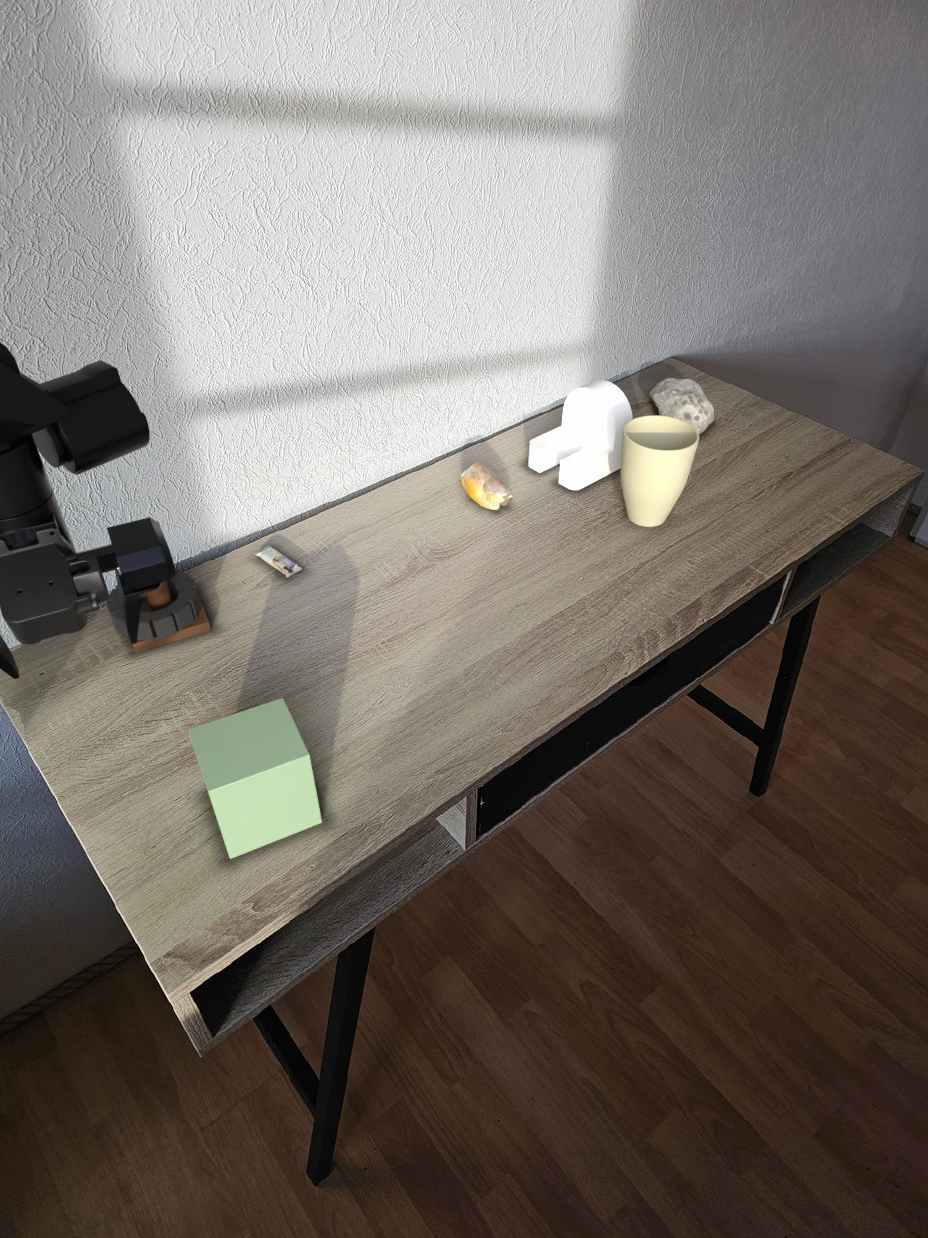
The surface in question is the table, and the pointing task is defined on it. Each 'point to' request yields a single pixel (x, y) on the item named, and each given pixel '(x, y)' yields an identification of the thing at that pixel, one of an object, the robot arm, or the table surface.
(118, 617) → the chunky treaded tire
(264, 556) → the granola bar
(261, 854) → the table surface
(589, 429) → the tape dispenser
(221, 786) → the riser box
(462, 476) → the shell
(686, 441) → the mug
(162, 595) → the stand
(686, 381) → the decorative stone
